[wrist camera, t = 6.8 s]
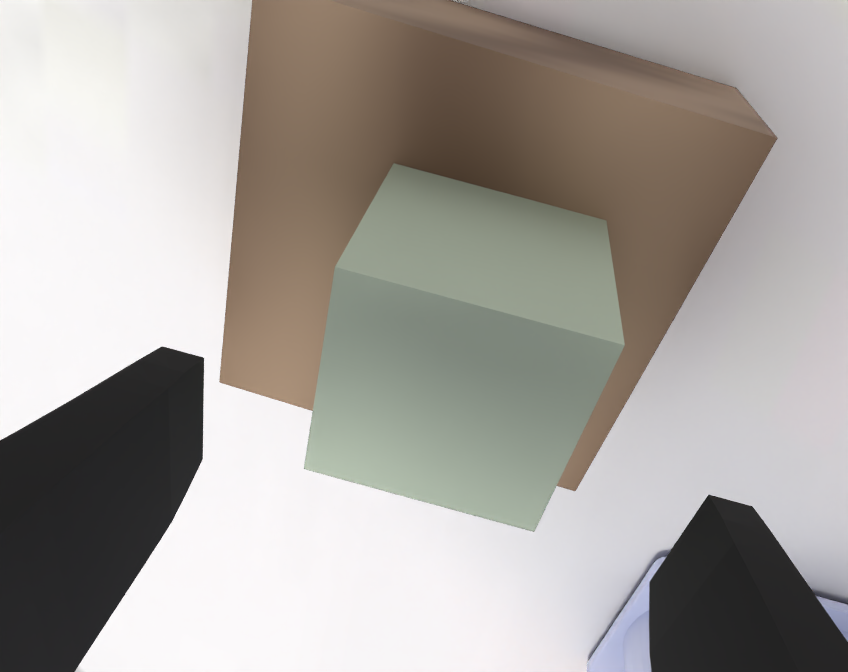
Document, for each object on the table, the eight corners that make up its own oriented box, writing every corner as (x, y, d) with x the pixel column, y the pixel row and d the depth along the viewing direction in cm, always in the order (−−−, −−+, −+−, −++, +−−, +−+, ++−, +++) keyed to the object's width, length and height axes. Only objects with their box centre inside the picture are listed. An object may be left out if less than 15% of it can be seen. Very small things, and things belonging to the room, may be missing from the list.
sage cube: (606, 219, 14) (624, 345, 10) (538, 384, 16) (533, 531, 13) (393, 163, 14) (334, 266, 10) (360, 336, 16) (303, 469, 13)
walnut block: (732, 83, 16) (777, 137, 12) (573, 398, 21) (575, 491, 18) (319, -44, 16) (254, -23, 12) (272, 305, 21) (219, 382, 18)
